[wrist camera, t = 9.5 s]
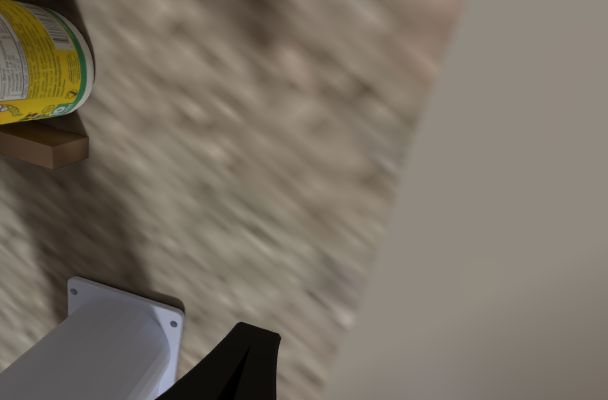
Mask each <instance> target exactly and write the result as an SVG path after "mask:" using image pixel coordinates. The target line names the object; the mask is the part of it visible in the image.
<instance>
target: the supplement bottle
mask: <svg viewBox="0 0 608 400" xmlns="http://www.w3.org/2000/svg"><path fill="white" fill-rule="evenodd" d="M93 82H94V67H93V60H92V55H91V53H90V50H89V48H88V46H87V44H86V42H85V40H84V38H83V36H82V35H81V33H80V32H79V31H78V30H77V28H76V27H75V26H74V25H73V24H72V23H71V22H70V21H69V20H67V19H66V18H65V17H64V16H62V15H61V14H59V13H57V12H56V11H53V10H51V9H49V8H46V7H42V6H38V5H34V4H28V3H23V2H18V1H13V0H0V124H6V123H14V122H21V121H28V120H35V119H42V118H49V117H57V116H62V115H66V114H68V113H71V112H73V111H74V110H76V109H77V108H79V107H80V106H81V105H82V104H83V103H84V102H85V101H86V100H87V98H88V97H89V95H90V92H91V90H92V88H93Z"/></svg>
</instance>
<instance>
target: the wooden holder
mask: <svg viewBox="0 0 608 400" xmlns="http://www.w3.org/2000/svg"><path fill="white" fill-rule="evenodd" d="M0 154H2V155H6V156H9V157H13V158H16V159H19V160H23V161H26V162H29V163H33V164H36V165H39V166H43V167H46V168H49V169H56V168H59V167H62V166H65V165H68V164H71V163H74V162H77V161H80V160H83V159H86V158H88V137H85V136H81V135H78V134H74V133H71V132H67V131H64V130H60V129H57V128H53V127H50V126H47V125H43V124H40V123H36V122H33V121H29V120H28V121H21V122H14V123H6V124H0Z"/></svg>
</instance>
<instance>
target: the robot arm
mask: <svg viewBox="0 0 608 400" xmlns="http://www.w3.org/2000/svg"><path fill="white" fill-rule="evenodd" d="M67 284H68V317H67V318H66V319H65V320H64V321H63V322H61V323H60V324H59V325H58V326H57V327H55V328H54V329H53V330H52V331H51V332H49V333H48V334H47V335H46V336H45V337H43V338H42V339H41V340H40V341H39V342H37V343H36V344H35V345H34V346H33V347H31V348H30V349H29V350H28V351H27V352H25V353H24V354H23V355H22V356H21V357H19V358H18V359H17V360H16V361H15V362H13V363H12V364H11V365H10V366H9V367H7V368H6V369H5V370H4V371H3V372H1V373H0V400H276V369H277V356H278V349H279V344H280V340H281V337H280V335H279V334H278V333H275V332H272V331H269V330H265V329H262V328H259V327H256V326H253V325H250V324H247V323H244V322H239V323H237V324H236V325H235V326H234V328H233V329H232V330H231V331H230V332H229V333H228V335H227V336H226V337H225V338H224V339H223V340H222V341H221V342H220V343H219V344H218V345H217V346H216V347H215V348H214V349H213V350H212V351H211V352H210V353H209V354H208V355H207V356H206V357H205V358H203V359H202V360H201V361H200V362H199V363H198V364H197V365H196V366H195V367H194V368H193V369H192V370H190V371H189V372H188V373H187V374H186V375H184V376H183V377H182V378H181V379H180V380H178V381H177V382H176V376H177V368H178V361H179V354H180V346H181V339H182V331H183V324H184V313H183V312H182V311H181V310H180V309H178V308H175V307H172V306H169V305H166V304H162V303H159V302H156V301H153V300H150V299H147V298H144V297H141V296H137V295H134V294H131V293H128V292H125V291H122V290H119V289H116V288H113V287H109V286H106V285H103V284H100V283H97V282H94V281H91V280H88V279H84V278H81V277H78V276H73V277H72V278H70V279H69V280H68V283H67ZM174 321H175V322H176V323H175V322H174Z"/></svg>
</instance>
